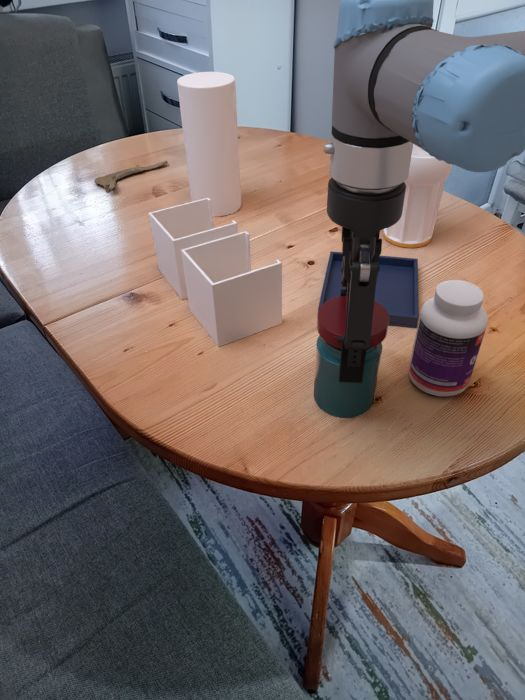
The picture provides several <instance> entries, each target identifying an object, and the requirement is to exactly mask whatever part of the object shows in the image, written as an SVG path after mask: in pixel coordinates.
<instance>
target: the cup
mask: <svg viewBox="0 0 525 700" xmlns="http://www.w3.org/2000/svg"><path fill="white" fill-rule="evenodd" d="M453 166H454V165H452V164H448V163H446V162H445V161H443V160H442V161H439V160H438V159H436V158H435V157H432V156H431V155H429V153H427V152H426V151H425V150H423V149H421V148H420V147H418V146H417V145H415V144H413V149H412V155H411V162H410V168H409V174H408V178H407V179H406V180H405V181H404V182H405V184H406V191H405V197H404V204H403V211H402V216H401V218H400V220H399V221H398V222H397V223H396V224H394V225H393V226H391V227H389V228H385V229H383V233H382V236H383V239H384V240H385V241H386V242H388V243H390V244H391V245H393V246H396V247H400V248H405V249H407V248H408V249H416V248H422V247H424V246H426V245H428V244H429V243H430V242H431V241H432V238H433V234H434V229H435V226H436V222H437V218H438V213H439V208H440V206H441V201H442V196H443V193H444V188H445V184H446V180H447V179H448V178H449V176H450V175H451V173H452V170H453V169H452V168H453Z"/></svg>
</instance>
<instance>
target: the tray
mask: <svg viewBox="0 0 525 700" xmlns="http://www.w3.org/2000/svg"><path fill="white" fill-rule="evenodd" d="M342 263H343V256H342V251H330V252H329V257H328V261H327V265H326V271H325V274H324V279H323V285H322V289H321V293H320V298H319V302H318V306H317V312H318V311H319V308H320V307H321V306H322V305H323V304H324V303H325V302H326V301H328V300H330V299H332V298H335V297H340V294H341V290H345V287H342V284H341V280H342V277H343V275H342V273H341V268H342ZM378 264H379V266H380V270H379V271H378V276H377V282H376V289H375V299H374V301H376V302H378V303H379V304H381V305H382V306H383V307H384V308H385V309H386V311H387V312H388V314H389V325H388V326H392V327H393V326H394V327H404V328H412V329H417V327H418V322H419V317H420V312H419V311H420V310H419V309H420V308H419V259H418V258H414V257H413V258H412V257H403V256H402V257H400V256H389V255H380V256H379V258H378Z"/></svg>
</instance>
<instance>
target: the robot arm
mask: <svg viewBox="0 0 525 700" xmlns="http://www.w3.org/2000/svg"><path fill="white" fill-rule="evenodd" d="M434 2H435V0H340V2H339V6H338V17H337V27H336V38H335V40H334V42H333V49H334V56H333V57H334V58H333V77H332V78H333V79H332V80H333V81H332V103H331V104H332V106H331V107H332V108H331V136H330V140H331V142H328V143H325V144H324V145H323V153H325V155H330V156H329V176H330V179H329V180H328V184H327V196H326V197H327V198H326V215H327V217H328V218H329V219H330V221H332V222H333V223H334V224H335V225H337V226H339V227H341V242H342V244H341V252H342V256H343V263H342V268H341V273H342V275H343V277H342V280H341V284H342V287H345V290H341V294H340V296H347V302H346V319H345V334H344V335H343V336H338V343H342V348H341V359H340V370H339V382H350V383H362V381H363V373H364V365H365V357H366V350H369V349H370V347H371V342H370V338H371V328H372V319H373V309H374V299H375V289H376V282H377V276H378V271H379V270H380V266H379V264H378V258H379V256H381V254H382V250H383V249H382V247H383V239H382V238H381V237H380V235H381V231H384V229H385V228H389V227H391V226H393V225H394V224H396V223H397V222H398V221H399V220H400V218H401V216H402V211H403V204H404V197H405V191H406V184H405V182H404V181H405V180H406V179H407V178H408V174H409V168H410V162H411V155H412V149H413V144H415V145H417V146H418V147H420V148H421V149H423V150H425V151H426V152H427V153H429V155H431V156H432V157H435V158H436V159H438V160H439V161H442V160H443V161H445V162H446V163H448V164H452V165H453V166H456V167H458V168H460V169H462V170H465V171H467V172H472V173H488V172H493V171H496V170H499V169H501V168H503V167H505V166H506V165H507V163H508V162H509V161H510V160H512V159H513V158H515V157H519V156H520V155H522V154H523V153H524V152H525V30H518V31H510V32H501V33H494V34H487V35H479V36H461V35H456V34H451V33H447V32H443V31H439V30H438V29H434V28H433V25H434V21H435V20H434Z"/></svg>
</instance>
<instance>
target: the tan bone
mask: <svg viewBox="0 0 525 700" xmlns="http://www.w3.org/2000/svg"><path fill="white" fill-rule="evenodd" d="M167 164H169V162H168V160H164V161H161V162H158V163H155V164H152V165H147V166H135V167H134V166H133V167H129V168H125V169H122V170H118V171H116V172H115V171H114V172H112V173H108V174H106V175H103V176H98V177H96V178H95V179H94V180H93V182H94V183H95V185H99V186H100V185H101V186H102V187H104V191H105V192H106V193H109V192H110V191H111V190H113V189H114V188H115V187H116V184H117V181H118V180H120V179H122V178H125V177H128V176H130V175H134V174H138V173H140V172H144V171H150V170H153V169H158V168H162V167H163V166H165V165H167Z"/></svg>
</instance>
